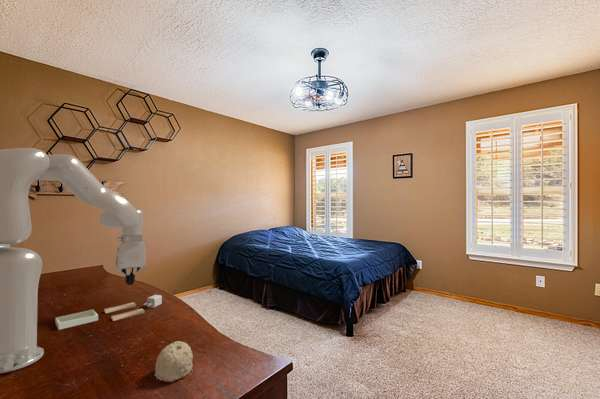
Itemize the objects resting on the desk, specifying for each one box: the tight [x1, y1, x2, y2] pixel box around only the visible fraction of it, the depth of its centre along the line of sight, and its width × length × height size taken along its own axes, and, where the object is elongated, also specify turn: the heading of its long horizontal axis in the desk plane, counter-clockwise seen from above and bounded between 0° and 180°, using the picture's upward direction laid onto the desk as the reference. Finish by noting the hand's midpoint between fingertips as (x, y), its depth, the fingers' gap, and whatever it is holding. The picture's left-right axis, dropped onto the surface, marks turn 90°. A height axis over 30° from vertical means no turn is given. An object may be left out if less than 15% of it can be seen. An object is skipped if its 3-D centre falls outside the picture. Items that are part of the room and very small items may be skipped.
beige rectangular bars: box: [103, 302, 146, 322], centre depth 117 cm, size 14×11×1 cm
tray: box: [54, 309, 99, 331], centre depth 108 cm, size 8×12×2 cm
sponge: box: [154, 340, 194, 381], centre depth 76 cm, size 9×10×10 cm
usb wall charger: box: [144, 294, 163, 309], centre depth 124 cm, size 4×7×4 cm, turn 166°
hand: (129, 284), depth 118 cm, fingers closed
